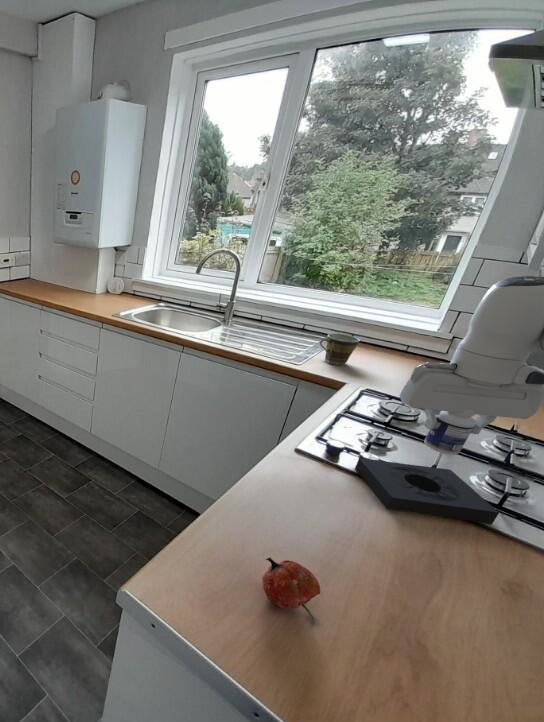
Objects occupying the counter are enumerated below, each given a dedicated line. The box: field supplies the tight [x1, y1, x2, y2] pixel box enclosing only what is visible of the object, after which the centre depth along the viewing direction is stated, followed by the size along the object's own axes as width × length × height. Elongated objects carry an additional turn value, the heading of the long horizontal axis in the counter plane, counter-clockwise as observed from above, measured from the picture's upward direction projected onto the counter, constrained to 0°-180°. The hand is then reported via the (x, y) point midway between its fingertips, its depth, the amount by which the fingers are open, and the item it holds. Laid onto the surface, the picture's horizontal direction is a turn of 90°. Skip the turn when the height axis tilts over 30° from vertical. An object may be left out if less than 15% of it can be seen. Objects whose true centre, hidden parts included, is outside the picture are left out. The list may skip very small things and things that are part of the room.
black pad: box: [354, 458, 500, 525], centre depth 87 cm, size 18×14×3 cm
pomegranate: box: [261, 556, 321, 620], centre depth 63 cm, size 7×7×10 cm
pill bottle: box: [423, 410, 476, 455], centre depth 81 cm, size 5×5×10 cm
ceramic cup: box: [319, 333, 361, 366], centre depth 155 cm, size 13×10×10 cm
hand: (450, 430), depth 81 cm, fingers closed on pill bottle, 5 cm apart
